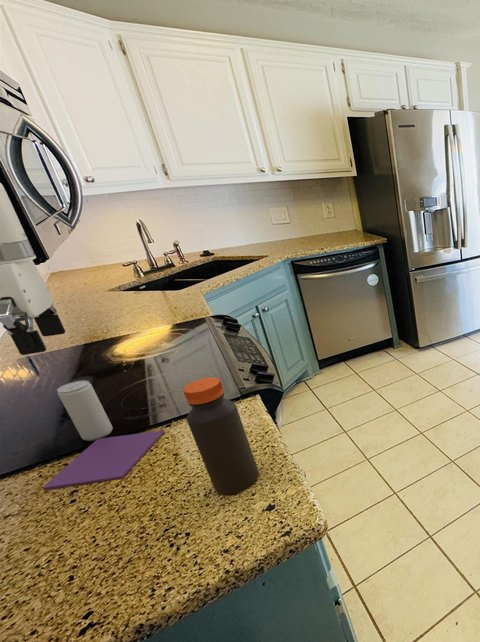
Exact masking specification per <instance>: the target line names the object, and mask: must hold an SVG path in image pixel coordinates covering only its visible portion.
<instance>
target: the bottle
mask: <svg viewBox="0 0 480 642" xmlns="http://www.w3.org/2000/svg"><path fill="white" fill-rule="evenodd" d="M182 392H183V394H184V397H185V399H186V402H187V403H188V405H189V406H190V407H191V409H190V411H189V412H188V414H187V416H186V422H187V425H188V427H189V429H190V432H191V435H192V437H193V440H194V442H195V445H196V447H197V451H198V452H199V454H200V457H201V460H202V462H203V465H204V467H205V469H206V471H207V474H208V476H209V479H210V483H211V484H212V486H213V489H214V491H215V492H216V493H217V494H219V495H223V496H228V495H233V494H238V493H240V492H242V491H245V490H246V489H248V488H249V487H251V486H252V485H253V484H254V483H255V482H256V481H257V479H258V478H259V475H260V472H259V468H258V465H257V463H256V459H255V456H254V454H253V451H252V449H251V445H250V442H249V439H248V437H247V433H246V431H245V427H244V425H243V422H242V419H241V415H240V412H239V410H238V407H237V405H236V403H235V401H233V400H230V399H228V398H225V397H224V396H225V390H224V387H223V384H222V382H221V380H220V378H218V377H205V378H200V379H197V380H194V381H192V382H190V383H188V384H186V385H185V386H184V387H183V389H182Z"/></svg>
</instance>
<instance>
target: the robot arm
mask: <svg viewBox="0 0 480 642" xmlns="http://www.w3.org/2000/svg"><path fill="white" fill-rule="evenodd" d="M35 259H36V260H37V256H36V254H35V252H34V250H33V248H32V245H31V244H30V241H29V239H28V237H27V235H26V233H25V229H24V228H23V226H22V224H21V221H20V219H19V217H18V215H17V212H16V211H15V208H14V206H13V204H12V201H11V199H10V197H9V196H8V193H7V191H6V189H5V187H4V185H3V184H2V183H1V182H0V323H1V324H2V328H4V329H5V330H6V332H7V334H8V335H9V336H10V337H11V340H12V342H13V344H14V345H15V348H16V349H17V351H18V353H19V354H20V355H22V356H26V355H33V354H40V353H44V352H46V351H47V346H46V345H45V343H44V341H43V339H42V337H52V336H53V337H54V336H58V335H64V334H65V333H66V329H65V326H64V324H63V323H62V320H61V319H60V316H59V314H58V311H57V309H56V307H54V301H53V298H52V295H51V293H50V291H49V288H48V286H47V284H46V282H45V281H44V278H43V277H42V275H41V272H40V271H39V269H38V268H37V266H36V264H35V261H33V260H35ZM23 322H24V323H23ZM34 322H35V323H36V325H37V328H38V330H37V329H36V330H35V329H34ZM39 332H40V333H39ZM41 336H42V337H41Z"/></svg>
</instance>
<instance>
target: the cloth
mask: <svg viewBox="0 0 480 642" xmlns="http://www.w3.org/2000/svg"><path fill="white" fill-rule="evenodd" d="M164 434H165V430H155V431H149V432H141V433H140V432H139V433H132V434H125V435H118V436H109V437H103V438H101V439H97V440H94V442H93V441H92V443H91V444H90V445H89V446H88V447H87V448H85V449H84V450H83V451H82V452H81V453H80V454H79V455H77V457H76V458H74V459H73V460H72V461H71V462H69V464H67V466H65V467H64V468H63V469H61V470H60V471H59V472H58V473H57V474H56V475H55V476H54V477H52V479H50V480H49V481H48V482H47V483H46V484H45V485H44V486H42V490H43V491H48V490H54V489H62V488H69V487H75V486H81V485H89V484H95V483H101V482H108V481H115V480H122V479H124V478H125V477H126V475H128V473H129V472H130V471H131V470H132V469H133V468H134V467H135V466H136V464H137V463H139V461H140V460H141V459H142V458H143V457H144V456H145V454H146V453H148V451H149V450H150V449H151V448H152V447H153V446H154V445H155V444H156V443H157V441H158V440H159V439H160V438H161V437H162V436H163V435H164Z"/></svg>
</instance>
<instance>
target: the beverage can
mask: <svg viewBox="0 0 480 642" xmlns="http://www.w3.org/2000/svg"><path fill="white" fill-rule="evenodd" d="M56 392H57V396H58V397H59V399H60V401H61V403H62V405H63V406H64V408H65V410H66V412H67V414H68V416H69V417H70V419H71V421H72V423H73V425H74V426H75V428H76V430H77V433H78V434H79V436H80V438H81V439H82V440H83V441H85V442H93V441H94V442H95V441H96V440H97V439H101V438H106V437H107V436H109V435H110V434H111V433H112V432H113V425H112V423H111V421H110V418H109V417H108V415H107V413H106V411H105V409H104V407H103V405H102V403H101V401H100V398H99V397H98V395H97V393H96V391H95V389H94V387H93V385H92V384H91V383H90V381H89V380H86V379H85V380H76V381H71V382H69V383H66V384H64V385H61V386H59V388H57V389H56Z"/></svg>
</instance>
